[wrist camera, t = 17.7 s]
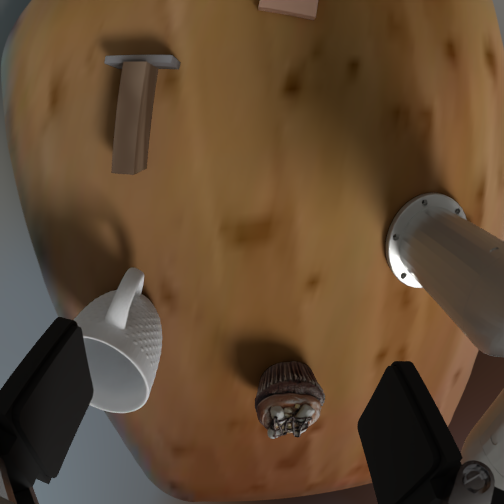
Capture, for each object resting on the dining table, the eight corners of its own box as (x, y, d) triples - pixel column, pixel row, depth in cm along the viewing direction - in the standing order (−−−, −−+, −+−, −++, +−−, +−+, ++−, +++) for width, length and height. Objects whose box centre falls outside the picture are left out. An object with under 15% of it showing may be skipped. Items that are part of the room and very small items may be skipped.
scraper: (180, 62, 29) (171, 54, 25) (166, 170, 34) (155, 176, 30) (119, 62, 29) (103, 55, 25) (108, 165, 33) (91, 171, 29)
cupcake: (259, 404, 47) (262, 455, 38) (249, 361, 44) (250, 415, 34) (319, 395, 47) (331, 445, 37) (317, 350, 43) (332, 402, 34)
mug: (108, 233, 36) (55, 283, 24) (192, 266, 38) (170, 332, 26) (90, 326, 41) (52, 388, 29) (161, 355, 43) (140, 425, 31)
